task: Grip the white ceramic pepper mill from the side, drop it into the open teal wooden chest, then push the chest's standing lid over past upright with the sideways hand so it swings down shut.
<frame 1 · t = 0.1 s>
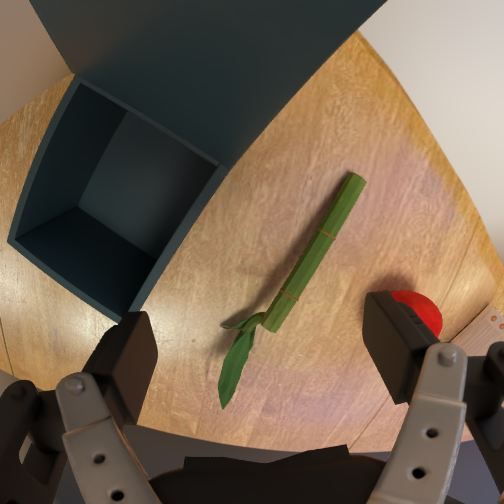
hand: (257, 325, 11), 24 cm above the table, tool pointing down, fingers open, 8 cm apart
decorative plant: (281, 277, 37), on the table
lid: (131, 38, 10), point 22 cm above the table, hinge at 110.1°
apple: (392, 306, 39), on the table
coffeecake box: (463, 342, 43), on the table
chest: (147, 180, 33), on the table
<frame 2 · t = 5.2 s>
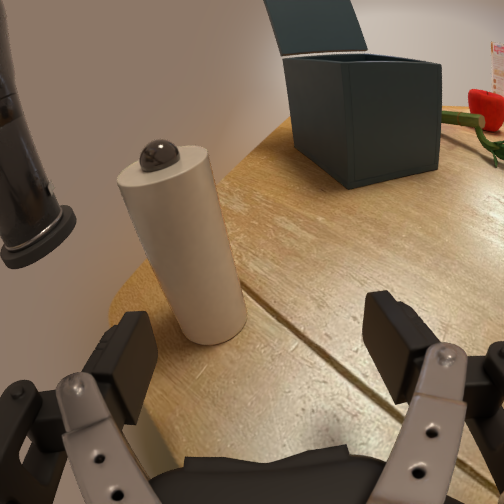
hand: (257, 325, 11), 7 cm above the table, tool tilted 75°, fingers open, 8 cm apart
pepper mill: (213, 317, 21), on the table
decorative plant: (459, 143, 40), on the table
lid: (311, 4, 34), point 22 cm above the table, hinge at 110.1°
apple: (486, 129, 46), on the table
chest: (362, 155, 39), on the table
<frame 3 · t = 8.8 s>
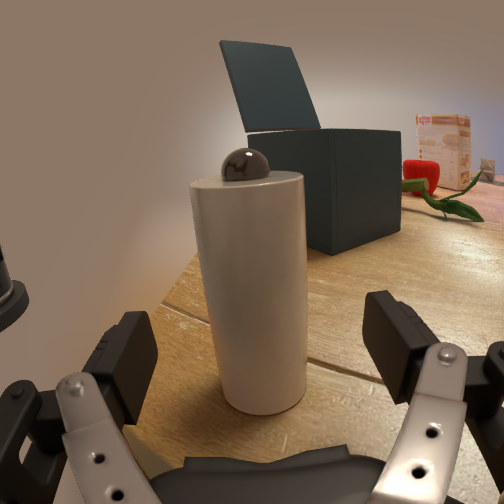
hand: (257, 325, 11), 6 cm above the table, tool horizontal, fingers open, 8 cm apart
pepper mill: (264, 385, 16), on the table
decorative plant: (405, 209, 51), on the table
lid: (271, 83, 44), point 22 cm above the table, hinge at 110.1°
apple: (421, 195, 62), on the table
coffeecake box: (443, 186, 73), on the table
chest: (326, 228, 43), on the table
architectural model: (486, 181, 83), on the table
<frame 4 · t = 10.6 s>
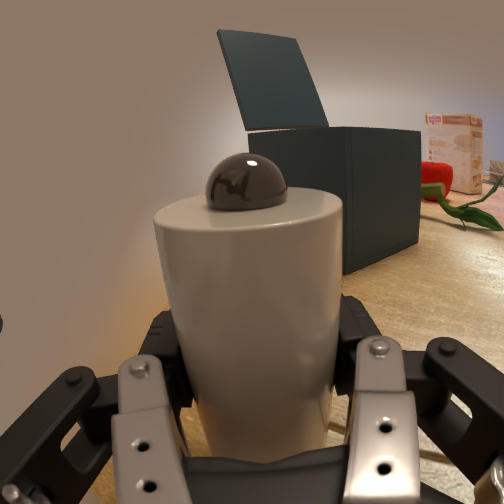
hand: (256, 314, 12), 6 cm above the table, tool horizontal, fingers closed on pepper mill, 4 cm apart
pepper mill: (269, 461, 11), on the table, touching gripper
decorative plant: (419, 216, 46), on the table
lid: (274, 76, 39), point 22 cm above the table, hinge at 110.1°
apple: (432, 199, 57), on the table
coffeecake box: (454, 189, 68), on the table
chest: (336, 239, 38), on the table
architectural model: (496, 184, 78), on the table
when the fingers open (15 cm above the table, at t = 21.1 s): pepper mill drops 7 cm and tips over, resting on chest.
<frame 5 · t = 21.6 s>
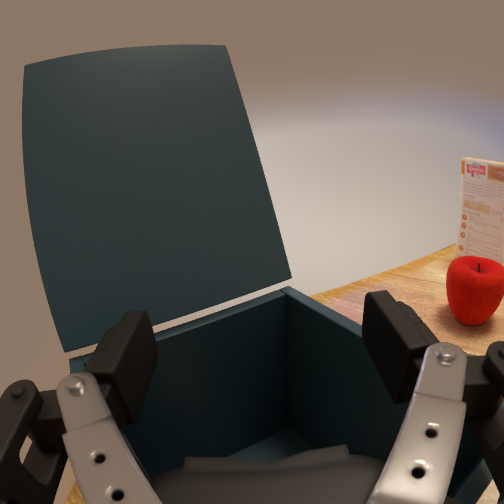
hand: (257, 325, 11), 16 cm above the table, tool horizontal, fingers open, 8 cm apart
lid: (146, 165, 16), point 22 cm above the table, hinge at 110.1°
apple: (468, 318, 34), on the table
coffeecake box: (491, 271, 45), on the table
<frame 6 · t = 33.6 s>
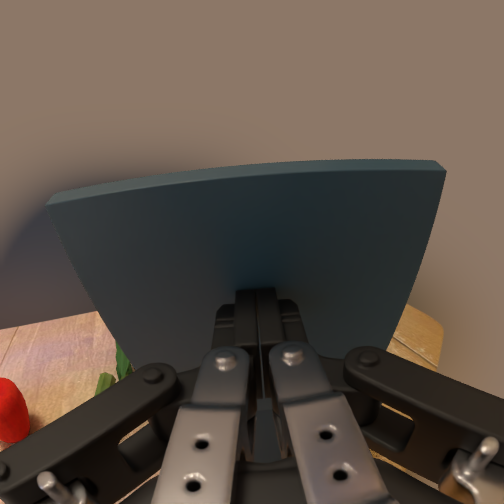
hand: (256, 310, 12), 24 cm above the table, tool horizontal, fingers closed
decorative plant: (115, 425, 33), on the table
lid: (258, 337, 14), point 22 cm above the table, hinge at 109.1°, touching gripper
apple: (17, 433, 28), on the table
chest: (267, 432, 32), on the table
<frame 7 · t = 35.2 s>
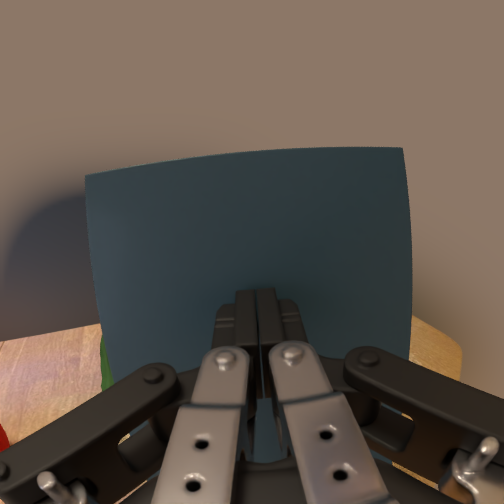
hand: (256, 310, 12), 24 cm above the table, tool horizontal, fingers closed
decorative plant: (102, 462, 27), on the table
lid: (259, 353, 13), point 22 cm above the table, hinge at 74.7°
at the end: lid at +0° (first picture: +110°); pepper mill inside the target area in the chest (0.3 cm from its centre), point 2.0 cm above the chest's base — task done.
